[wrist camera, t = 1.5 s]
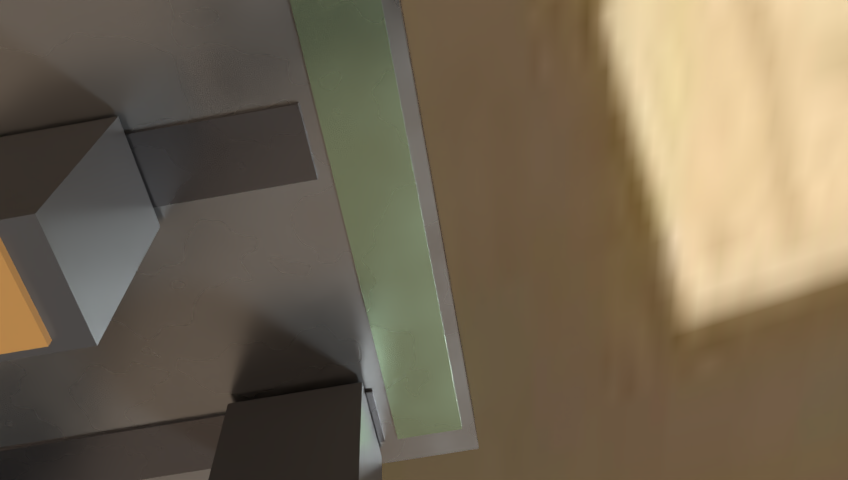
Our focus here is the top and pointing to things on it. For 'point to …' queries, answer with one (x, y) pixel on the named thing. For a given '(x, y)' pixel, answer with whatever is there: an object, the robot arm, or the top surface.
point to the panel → (240, 231)
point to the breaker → (299, 438)
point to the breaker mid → (68, 235)
